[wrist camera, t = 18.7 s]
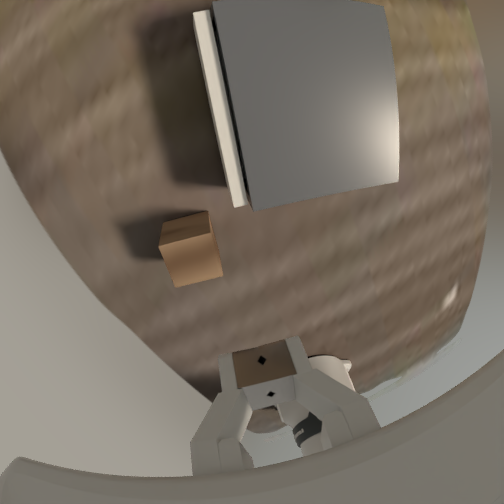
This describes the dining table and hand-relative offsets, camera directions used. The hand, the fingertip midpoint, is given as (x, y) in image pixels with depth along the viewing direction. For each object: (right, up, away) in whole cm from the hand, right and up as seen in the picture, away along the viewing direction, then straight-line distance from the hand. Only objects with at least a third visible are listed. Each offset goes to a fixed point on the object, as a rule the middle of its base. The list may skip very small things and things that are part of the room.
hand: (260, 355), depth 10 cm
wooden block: (-7, +6, +20) cm, 22 cm away
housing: (+4, +20, +14) cm, 24 cm away
